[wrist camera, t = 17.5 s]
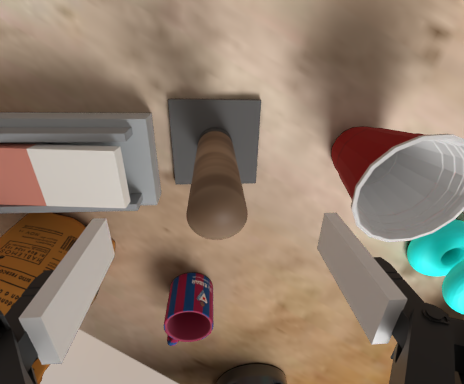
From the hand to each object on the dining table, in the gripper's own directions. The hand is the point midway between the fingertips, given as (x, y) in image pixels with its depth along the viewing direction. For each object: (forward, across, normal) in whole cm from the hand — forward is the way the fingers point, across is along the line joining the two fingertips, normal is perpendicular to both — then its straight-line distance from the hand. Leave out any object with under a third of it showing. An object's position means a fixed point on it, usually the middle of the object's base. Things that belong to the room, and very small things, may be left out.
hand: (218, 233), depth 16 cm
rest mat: (+17, 0, -1) cm, 17 cm away
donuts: (+18, -34, +15) cm, 41 cm away
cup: (+18, +5, +24) cm, 30 cm away
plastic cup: (+17, -17, 0) cm, 24 cm away
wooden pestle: (+16, 0, -1) cm, 17 cm away
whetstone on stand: (+17, +17, +1) cm, 24 cm away
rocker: (+12, +17, +1) cm, 21 cm away
